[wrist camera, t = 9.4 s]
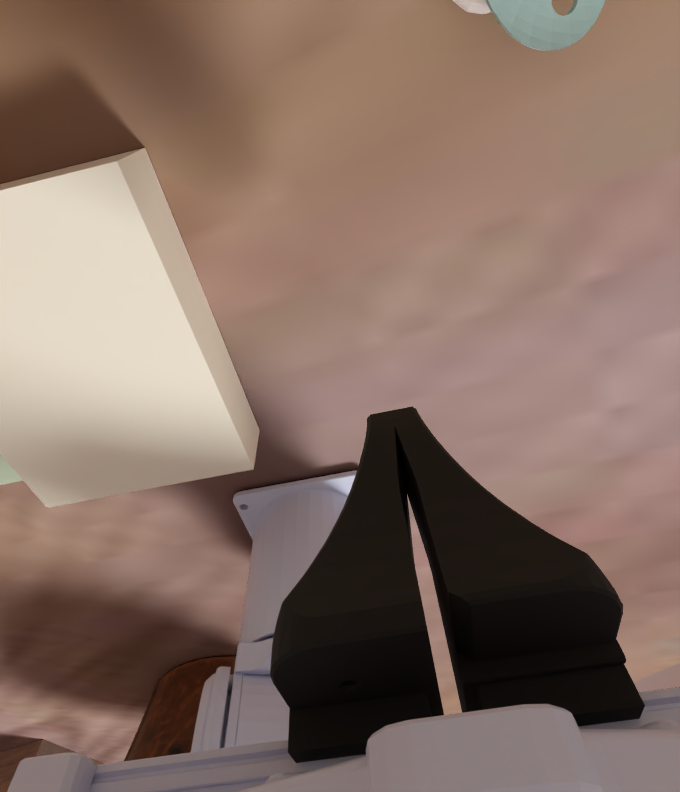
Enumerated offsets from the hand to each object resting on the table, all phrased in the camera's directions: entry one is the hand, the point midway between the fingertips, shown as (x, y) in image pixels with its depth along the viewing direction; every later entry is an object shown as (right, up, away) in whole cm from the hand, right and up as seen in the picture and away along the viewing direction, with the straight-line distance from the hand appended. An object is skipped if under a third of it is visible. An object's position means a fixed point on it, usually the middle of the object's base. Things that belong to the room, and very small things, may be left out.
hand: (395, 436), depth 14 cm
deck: (-13, +4, +8) cm, 16 cm away
